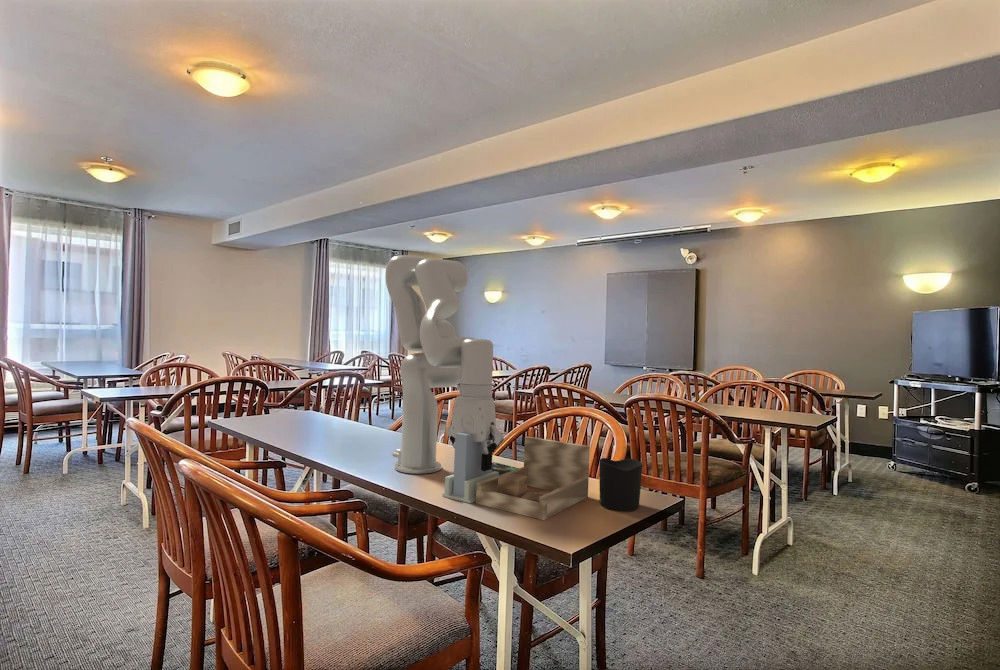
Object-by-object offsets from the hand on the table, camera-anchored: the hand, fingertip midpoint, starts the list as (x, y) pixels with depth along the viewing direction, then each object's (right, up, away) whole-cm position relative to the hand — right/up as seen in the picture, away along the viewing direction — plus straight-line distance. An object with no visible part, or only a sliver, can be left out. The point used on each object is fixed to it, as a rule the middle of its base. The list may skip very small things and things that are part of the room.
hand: (472, 466), depth 130 cm
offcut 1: (+9, -4, -6) cm, 11 cm away
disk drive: (+6, -7, +16) cm, 18 cm away
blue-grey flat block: (0, -6, 0) cm, 6 cm away
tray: (+14, -7, -3) cm, 16 cm away
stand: (0, -6, 0) cm, 6 cm away
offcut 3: (+14, -7, -10) cm, 18 cm away
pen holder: (+33, -8, -5) cm, 34 cm away
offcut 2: (+9, -7, -6) cm, 13 cm away
